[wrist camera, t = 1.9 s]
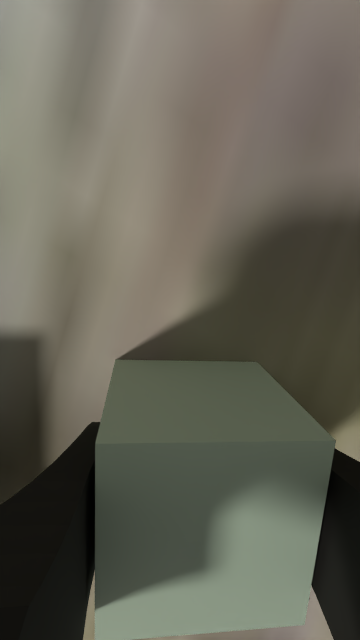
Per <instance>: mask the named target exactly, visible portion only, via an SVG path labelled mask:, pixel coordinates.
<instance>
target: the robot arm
mask: <svg viewBox="0 0 360 640" xmlns="http://www.w3.org/2000/svg"><path fill="white" fill-rule="evenodd" d="M99 426H100V422H92V423H90V424H89V425H88V426H87V427H86V429H85V430H84V431H83V432H82V433H81V434H80V435H79V436H78V438H77V439H76V440H75V441H74V442H73V443H72V444H71V445H70V446H69V447H68V448H67V449H66V450H65V451H64V452H63V453H62V454H61V455H60V456H59V457H58V458H57V459H56V460H55V461H54V462H53V463H52V464H51V465H50V466H49V467H48V468H47V469H46V470H45V471H43V472H42V473H41V474H40V475H39V476H38V477H37V478H36V479H34V480H33V481H32V482H31V483H30V484H28V485H27V486H26V487H25V488H23V489H22V490H21V491H19V492H18V493H17V494H15V495H14V496H13V497H11V498H10V499H8V500H7V501H6V502H4V503H3V504H1V505H0V640H83V634H84V627H85V619H86V612H87V606H88V600H89V595H90V589H91V585H92V580H93V575H94V571H95V443H96V439H97V434H98V430H99ZM311 585H312V588H313V590H314V592H315V594H316V596H317V599H318V601H319V604H320V606H321V609H322V611H323V614H324V616H325V619H326V621H327V624H328V626H329V629H330V631H331V634H332V636H333V639H334V640H360V462H359V461H357V460H355V459H353V458H351V457H349V456H347V455H346V454H344V453H342V452H340V451H338V450H337V449H335V448H334V454H333V460H332V466H331V472H330V478H329V484H328V489H327V495H326V501H325V507H324V513H323V519H322V525H321V530H320V536H319V542H318V548H317V554H316V560H315V566H314V571H313V577H312V583H311Z"/></svg>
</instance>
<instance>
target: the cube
mask: <svg viewBox="0 0 360 640" xmlns="http://www.w3.org/2000/svg"><path fill="white" fill-rule="evenodd" d="M335 443H336V440H335V439H334V438H333V437H332V436H331V435H330V434H329V433H328V432H327V431H326V430H325V429H324V428H323V427H322V426H321V425H320V424H319V423H318V422H317V421H316V420H315V419H314V418H313V417H312V416H311V415H310V414H309V413H308V412H307V411H306V410H305V409H304V408H303V407H302V406H301V405H300V404H299V403H298V402H297V401H296V400H295V399H294V398H293V397H292V396H291V395H290V394H289V393H288V392H287V391H286V390H285V389H284V388H283V387H282V386H281V385H280V384H279V383H278V382H277V381H276V380H275V379H274V378H273V377H272V376H271V375H270V374H269V373H268V372H267V371H266V370H265V369H264V368H263V367H262V366H261V365H260V364H259V363H258V362H231V361H170V360H115V364H114V368H113V373H112V377H111V381H110V385H109V389H108V393H107V397H106V401H105V406H104V410H103V414H102V418H101V422H100V426H99V430H98V434H97V439H96V443H95V640H131V639H143V638H155V637H167V636H179V635H191V634H203V633H215V632H227V631H238V630H250V629H262V628H274V627H286V626H298V625H304V624H305V618H306V613H307V607H308V601H309V595H310V589H311V583H312V577H313V571H314V566H315V560H316V554H317V548H318V542H319V536H320V530H321V525H322V519H323V513H324V507H325V501H326V495H327V489H328V484H329V478H330V472H331V466H332V460H333V454H334V448H335Z"/></svg>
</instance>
